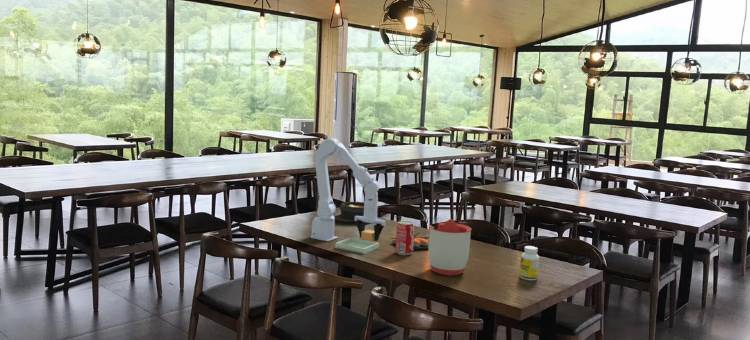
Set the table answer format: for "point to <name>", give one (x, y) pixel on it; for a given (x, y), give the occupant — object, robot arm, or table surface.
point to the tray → (357, 245)
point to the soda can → (404, 238)
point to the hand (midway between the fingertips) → (369, 239)
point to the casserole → (350, 211)
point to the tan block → (368, 235)
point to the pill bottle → (529, 263)
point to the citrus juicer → (449, 247)
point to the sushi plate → (418, 242)
